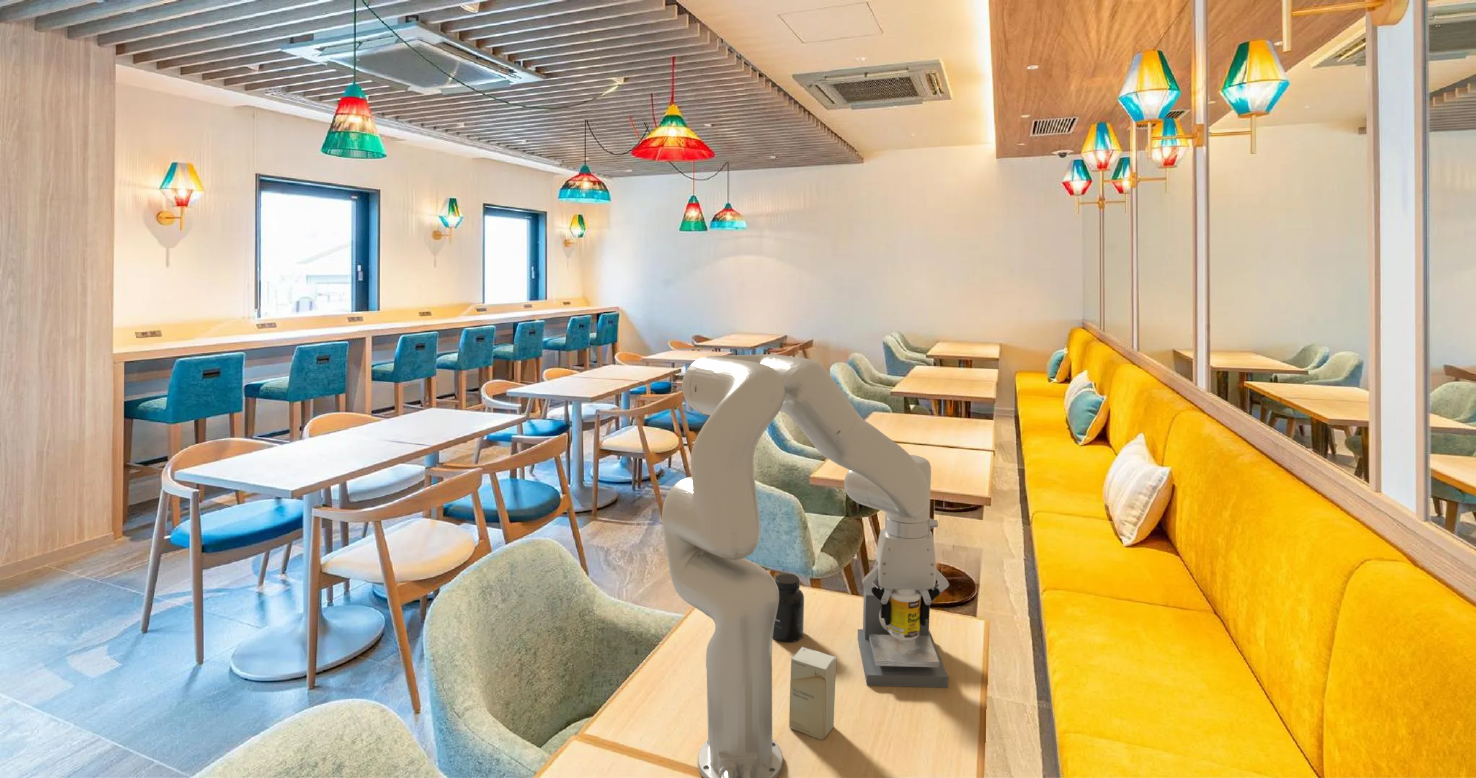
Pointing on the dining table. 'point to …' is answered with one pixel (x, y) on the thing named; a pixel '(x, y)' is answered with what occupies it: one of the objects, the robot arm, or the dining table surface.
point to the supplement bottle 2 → (905, 614)
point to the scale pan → (903, 651)
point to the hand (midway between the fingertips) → (904, 620)
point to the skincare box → (812, 692)
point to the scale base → (893, 673)
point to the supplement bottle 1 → (789, 609)
